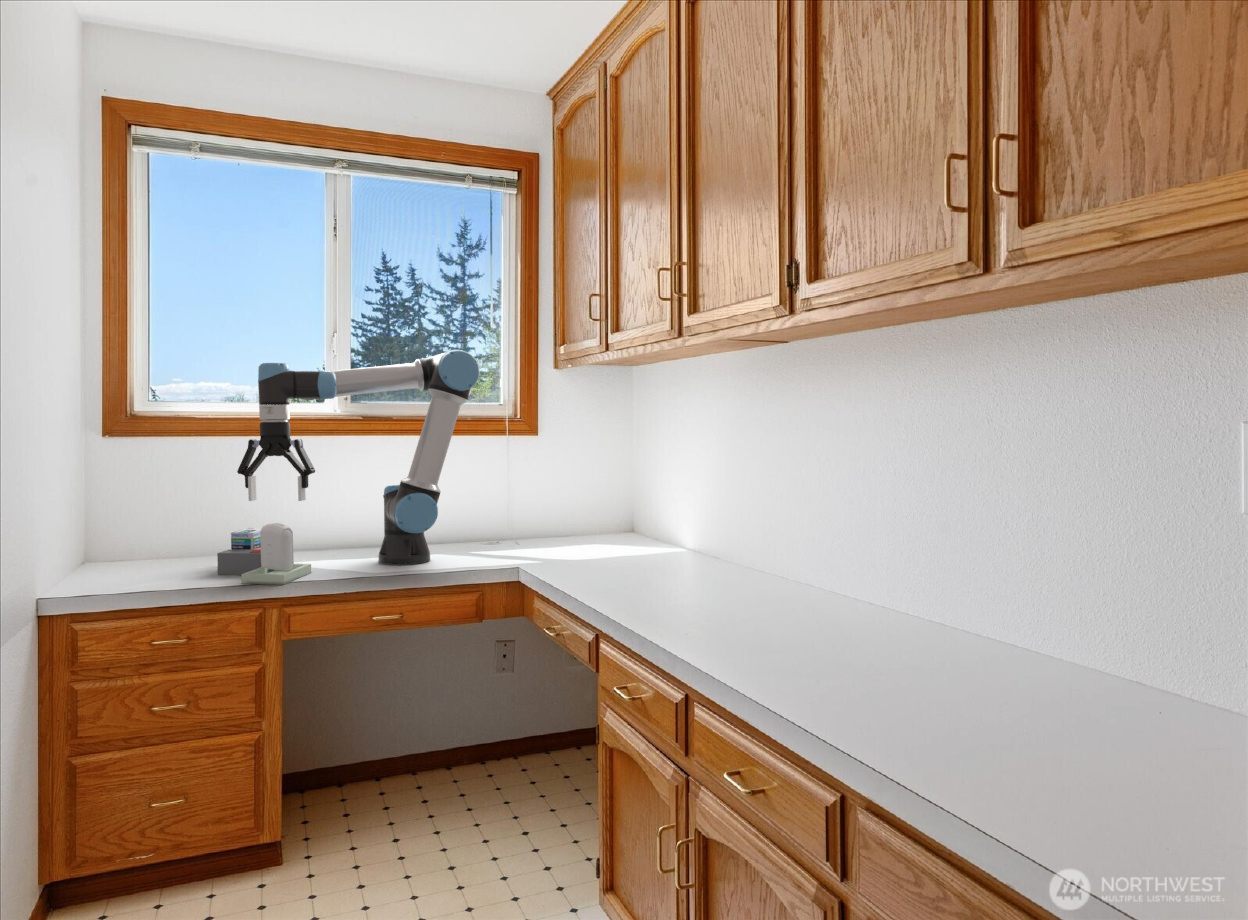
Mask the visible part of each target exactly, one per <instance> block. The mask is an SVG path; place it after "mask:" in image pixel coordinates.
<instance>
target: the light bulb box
mask: <svg viewBox="0 0 1248 920" xmlns="http://www.w3.org/2000/svg"><path fill="white" fill-rule="evenodd" d="M261 529H262V527H260V528H259V527H247V528H242V529H239V530H235V531H233V532H230V545H231V546H230V548H231V549H230V550H252V549H255V548H261V544H260V531H261Z"/></svg>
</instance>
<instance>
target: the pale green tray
mask: <svg viewBox="0 0 1248 920" xmlns="http://www.w3.org/2000/svg"><path fill="white" fill-rule="evenodd" d="M267 569H268V568H262V567H260V568H257V569H255V570H252V571H249V572H246V573H244V574H241V575H240V576H241V584H242V585H283V586H284V585H287V584H289V583H292V582H293V581H296V580H298V579H300V578H303V577H305V576H307V575H309V574H311V573H312V564H311V563H294V567H293V569H292V570H288V571H281V570H275V569H272V570H274V571H272V572H270V573H267ZM269 571H271V570H269ZM269 571H268V572H269Z"/></svg>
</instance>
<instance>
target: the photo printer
mask: <svg viewBox="0 0 1248 920" xmlns="http://www.w3.org/2000/svg"><path fill="white" fill-rule="evenodd" d="M261 528H262V529H261V531H260V544H261V567H262V568H268V569H275V570H281V571H288V570H292V569H293V567H294V564H295V563H294V560H295V559H294V532H293V529H292V528H290V527H289V526H287V525H286V524H284V523H279V522H273V523H268V524H264V525H263V526H262V527H261Z"/></svg>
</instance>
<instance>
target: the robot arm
mask: <svg viewBox="0 0 1248 920" xmlns="http://www.w3.org/2000/svg"><path fill="white" fill-rule="evenodd" d="M257 372H258V376H257V377H258V378H257V379H258V380H257V383H258V385H257V386H258V403H259V404H258V405H259V406H258V407H259V415H258V416H259V420H260V421H261V422H260V423H259V435H260V439H259V440H258V439H256V438H255V439H253V438H252V439H251V438H250V439H249V440H247V441H248V442H247V449H246V451H245V453H244V455H243V458H242V460H241V462H240V464H239V465H238V468H237V470H236V471H237V472H236V473H237V474H238V475H242V476H244V484H245V485H244V486H245V489H248V490H247V491H248V493H247V495H248V501H249V502H253V501H256V500H257V481H256V479H257V478H256V477H257V476H256V475H254V474H255V472H256V471H257V470H258V468H260V466H261V464H262V463H263V462H264V461H265V459H266V458H268V457H284V458H285V459H286V460H287V461H288V462H289V463H290V465H292V467H293V468H294V469H295V470H296V471H297V472H298V473H299V475H300V476H297V494H298V495H297V497H298V501H299V502H301V501H302V502H303V501H306V489H307V488H309V475H312V474H314V473H316V469H315V467H314V465H313V463H312V461H311V459H310V458H309V455H308V454H307V451H306V450H305V447H304V444H303V443H304V441H303V440H302V439H301V438H296V439H293V440H292V439H291V423H290V422H289V420H290V419H291V413H290V410H291V409H290V400H291V399H292V400H296V399H297V400H304V401H313V400H332V399H334V398H339V397H347V396H356V395H365V394H374V393H384V392H392V391H393V392H394V391H401V390H402V391H403V390H412V389H413V390H414V389H417V390H419V391H420V392H424V391H429V393H430V396H431V399H430V401H429V405H428V409H427V412H426V416H425V418H424V422H423V424H422V428H421V432H420V435H419V438H418V442H417V445H416V448H415V452H414V455H413V457H412V458H413V459H412V462H411V465H410V468H409V472H408V475H407V477H405V478H403V479H401V480H400V483H399V484H393V485H386V486H385V488H384V489H383V495H382V496H383V513H384V514H383V517H384V518H383V520H384V521H383V531H384V532H383V533H384V534H383V535H384V536H383V539H382V542H381V546H380V548H379V552H378V563H380V564H383V565H391V566H392V565H397V566H398V565H399V566H400V565H402V566H403V565H404V566H405V565H416V564H422V563H427V562H429V561H431V551H430V548H429V546H428V542H427V539H426V536H425V532H427V531H428V530H430V529H431V528H432V527H433V526H434V525H435V523H436V521H437V518H438V517H439V516H438V515H439V509H438V502H439V498H440V495H441V489H440V487H439V485H438V484H439V480H440V476H441V474H442V469H443V467H444V463H445V460H446V456H447V453H448V450H449V446H450V443H451V440H452V437H453V433H454V429H455V427H456V423H457V420H458V416H459V413H460V410H461V407H462V405H464V404H466V403H469V398H470V395H471V392H472V388H474V386H475V385H476V384H477V382H478V380H479V378H480V373H481V372H480V365H479V363H478V361H477V359H476V357H475V356H473V354H471V353H469V352H468V351H465V350H461V349H451V350H450V349H449V350H448V351H446V352H441V353H439V354H436V355H433V356H430V357H425V358H417V359H415V361H414V362H411V363H401V364H400V363H399V364H391V365H388V364H387V365H381V366H380V365H378V366H370V367H360V368H349V369H348V368H347V369H339V370H330V371H324V370H321V371H320V370H319V371H318V370H316V371H314V370H310V371H309V370H308V371H307V370H304V371H303V370H301V371H300V370H297V371H295V370H290V368H289V365H288V363H281V362H263V363H261V364H260V365H259V366H258V371H257ZM259 446H260V448H261V450H260V451H259V453H258V454H257V456H256V457H255V459H254V460H253V461H252V459H253V457H254V455H255V454H256V451H257V449H258V448H259ZM291 447H293V448H294V449H295V451H296V453H297V455H298V457H299V459H300V460H299V459H298V458H297V457H296V456H295V455H294V453H293V451H292V450H291V449H290V448H291ZM300 461H301V462H300ZM298 501H297V502H298Z"/></svg>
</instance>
